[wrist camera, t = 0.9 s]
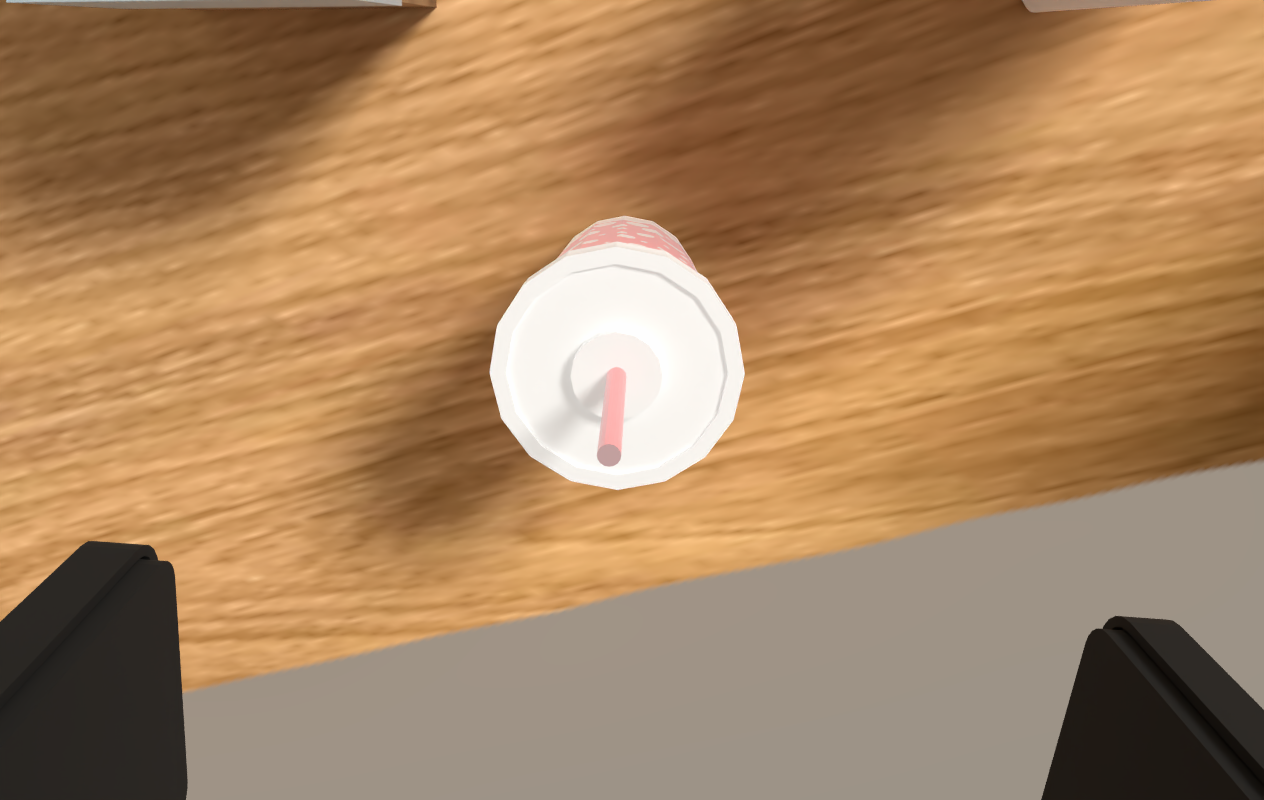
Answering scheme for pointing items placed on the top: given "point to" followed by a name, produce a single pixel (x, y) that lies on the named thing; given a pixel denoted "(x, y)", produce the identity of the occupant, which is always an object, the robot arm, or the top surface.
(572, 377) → the beverage cup
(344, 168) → the top surface
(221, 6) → the top block
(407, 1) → the bottom block
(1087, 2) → the milk carton
